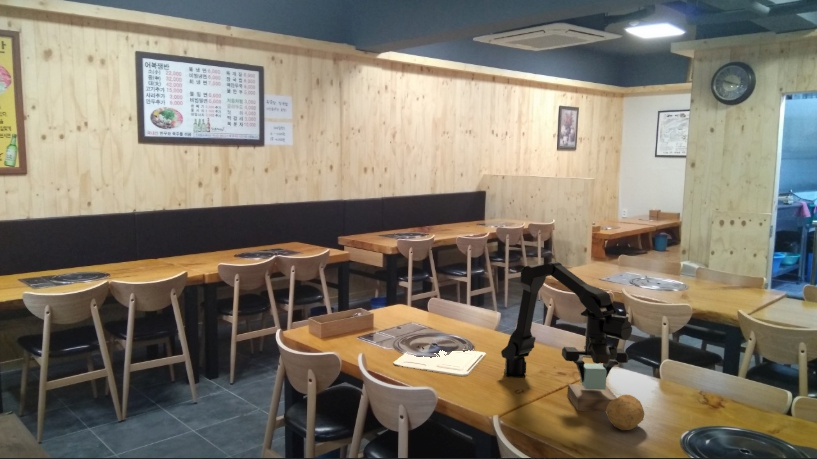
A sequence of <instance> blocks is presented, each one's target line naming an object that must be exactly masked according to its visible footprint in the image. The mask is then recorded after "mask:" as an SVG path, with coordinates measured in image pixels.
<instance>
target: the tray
mask: <svg viewBox="0 0 817 459" xmlns="http://www.w3.org/2000/svg"><path fill="white" fill-rule="evenodd" d="M467 350H468V351H465V352H463V351H452V352H451V353H450V354H449V355H446V354H447V352H445V351H443V350H442V351H441V350H440V351H439V353H438V354H439V355H440V357H439V356H438V355H437V354H436V353H434V354H436V355H437V356H438V357H437V356H436V357H432V358H430V357H424V356H423V357H416V356H414V355H408V354H406V353H407V352H405V353H404V354H402V355H401V356H400V357H399V358H396V360H395V361H393V362H392V364H393V363H394V364H393V365H395V366H397V367H401V366H403V367H402V368H407V367H408V369H413V368H415V369H414V370H420V369H421V370H420V371H426V370H427V371H428V372H432V371H433V372H434V373H440V374H446V375H452V376H458V377H466V376H469V375H470V374H471V373H472V371H473V370H474V369H475V368H476V367H477V366H478V365H479V364H480V363H481V361H482V360H483V359H484V358H485V357H486V356H487V353H486V352H485V351H478V350H476V351H475V350H471V351H470V349H467ZM444 354H445V355H446V356H445V355H444ZM485 355H486V356H485ZM484 356H485V357H484ZM483 357H484V358H483ZM476 361H477V362H476ZM475 362H476V363H475ZM427 371H426V372H427Z"/></svg>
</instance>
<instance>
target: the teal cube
mask: <svg viewBox="0 0 817 459" xmlns="http://www.w3.org/2000/svg"><path fill="white" fill-rule="evenodd" d="M584 363H585V364H584V382H582V381H581V378H580V384H581V385H583V386H584V388H585V389H599V390H606V386H607V378H606V374H607V370H606V369H605V368H604V367H603V364H602V363H599V364H596V363H587V362H584Z"/></svg>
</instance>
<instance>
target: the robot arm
mask: <svg viewBox="0 0 817 459" xmlns="http://www.w3.org/2000/svg"><path fill="white" fill-rule="evenodd" d="M550 276H551V277H552V278H554V279H555V280H556V281H558V283H560V284H562V285H563V286H565V288H567V289H568V290H569V291H571V292H572V293H573V294H575V295H576V296H577V297H578V299H579V302H580V304H582V306H584V308H585V310H584V311H582V312H580V316H583V317H586V328H585V333H584V337H585V344H584V346H583V347H584V348H583V349H584V350H578V349H577V348H576V347H575V346H573V347H572V346H563V347H562V349H561V356H562V357H563V359H564V360H565V362H573V363H574V364H575V365H576V367H577V371H578V375H579V377H580V379H581V381H582V382H584V364H585V363H586V362H585V361H584V359H583V358H591V359H592V362H593V364H602V366H603V367H604V368H605V369H606V370H607V374H606V379H607V378H608V376H609V373H610V372H611V370H612V368H613V367H615V366H618V365H619V364H620V363H623V364H627V363H628V362H629V355H628V353H627V352H626V351H625V350H623V349H622V348H617V347H616V346H610V345H608V341H607V337H610V338H614V339H618V340H622V341H628V340H629V339H630V337H631V335H632V332H633V327H632V323H631V322H630V320H629V317H628V316H627V315H626V316H625V315H624V316H623V315H619V313H618V311H617V309H616V306H614V304H613V301H612V300H611V295H610V293H608V292H607V291H605V290H604V289H601V288H599V287H596V286H593V285H590V284H588V283H587V282H586V281H584V280H583V279H581V278H580V277H579V276H577V275H576V274H574V273H573V272H571V270H569V269H567V268H566V267H565V266H564V265H562V263H561V262H559V261H550V262H547V263H545V264H532V265H531V264H530V265H525V266H524V267H522V268H521V271H520V285H521V287H522V295H521V300H520V305H519V311H518V316H517V322H516V326H515V327H516V328H515V329H514V331H513V332H512V333H511V335H510V336H509V338H508V342H507V345H506V346H505V347H504V348H503V349H501V351H500V354H501V357H502V358H503V359H505V364H504V365H505V366H504V369H503V371H504V373H505V376H506V377H511V378H512V377H513V378H514V377H515V378H525V377H526V373H527V361H526V357H528V356H529V355H530V353H531V352H532V351H533V349H534V348H535V342H536V336H533V334H532V331H531V330H532V326H533V320H534V314H535V309H536V304H537V298H538V294H539V292H540V290H541V289H542V287H543V285H544V284H545V282H546V278H547V277H550ZM606 336H607V337H606Z"/></svg>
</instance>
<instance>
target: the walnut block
mask: <svg viewBox="0 0 817 459" xmlns="http://www.w3.org/2000/svg"><path fill="white" fill-rule="evenodd" d="M567 397H568V399H570V401H571V403H572V405H573V406H574V407H575V409H576V410H577V411H581V410H582V411H583V412H584V411H586V412H606V408H607V405H608V404H609V403H610V401H612V400H613V399H616V398H617V397H618V396H616V395H615V394H614V392H612V391H611V389H610V388H609V387H608V386H607V385H606V390H599V389H585V388H584V386H583V385H582V384H581V383H580V384H573V383H568V384H567Z"/></svg>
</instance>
